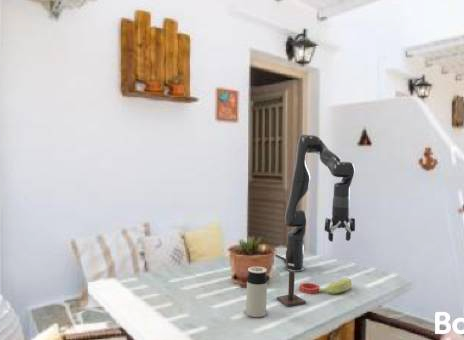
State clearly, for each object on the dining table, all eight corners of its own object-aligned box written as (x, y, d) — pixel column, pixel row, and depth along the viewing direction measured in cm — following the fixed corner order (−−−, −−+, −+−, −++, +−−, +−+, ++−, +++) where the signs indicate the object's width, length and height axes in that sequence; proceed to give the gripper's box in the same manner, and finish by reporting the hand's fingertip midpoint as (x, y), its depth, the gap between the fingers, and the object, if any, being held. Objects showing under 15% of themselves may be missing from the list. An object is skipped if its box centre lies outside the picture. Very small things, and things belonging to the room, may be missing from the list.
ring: (296, 288, 184) (296, 284, 184) (311, 286, 188) (311, 282, 188) (307, 294, 177) (307, 290, 177) (322, 292, 181) (323, 287, 181)
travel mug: (251, 319, 149) (252, 273, 148) (243, 311, 156) (244, 267, 156) (269, 316, 152) (270, 271, 151) (260, 308, 160) (262, 265, 159)
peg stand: (276, 299, 170) (277, 269, 169) (293, 296, 174) (294, 267, 174) (287, 307, 162) (288, 275, 161) (305, 303, 166) (306, 273, 166)
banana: (359, 276, 182) (323, 285, 175) (362, 288, 182) (326, 298, 174) (342, 274, 195) (308, 283, 187) (345, 286, 194) (311, 295, 187)
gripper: (350, 204, 182) (348, 238, 183) (322, 204, 178) (321, 239, 179) (359, 206, 175) (357, 242, 176) (330, 207, 171) (329, 243, 172)
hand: (339, 240), depth 177 cm, fingers open, 8 cm apart
